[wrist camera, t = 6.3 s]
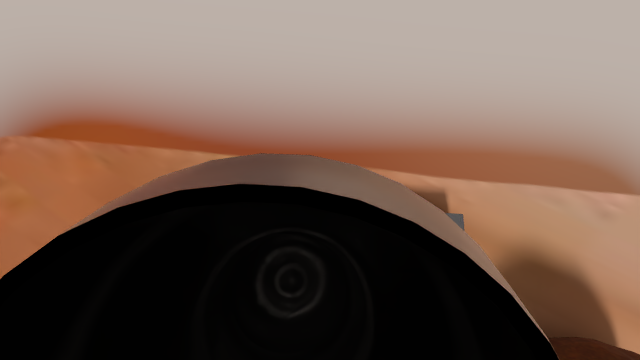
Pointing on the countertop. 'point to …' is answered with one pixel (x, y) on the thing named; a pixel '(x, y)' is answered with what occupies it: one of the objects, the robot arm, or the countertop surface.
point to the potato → (588, 350)
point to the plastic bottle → (265, 274)
